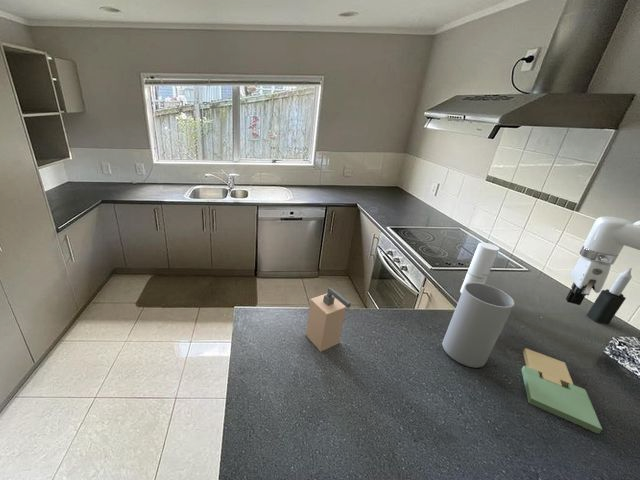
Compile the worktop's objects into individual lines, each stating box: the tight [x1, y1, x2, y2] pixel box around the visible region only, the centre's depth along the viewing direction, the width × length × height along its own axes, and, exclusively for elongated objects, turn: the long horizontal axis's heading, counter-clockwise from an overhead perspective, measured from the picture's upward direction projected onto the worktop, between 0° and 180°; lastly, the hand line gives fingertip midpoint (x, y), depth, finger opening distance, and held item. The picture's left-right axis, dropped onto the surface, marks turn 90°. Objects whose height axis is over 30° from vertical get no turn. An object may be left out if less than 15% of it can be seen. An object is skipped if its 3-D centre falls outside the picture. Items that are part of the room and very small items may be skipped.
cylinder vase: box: [442, 283, 516, 368], centre depth 92 cm, size 12×12×25 cm
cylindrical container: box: [459, 241, 500, 295], centre depth 124 cm, size 7×7×25 cm
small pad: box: [522, 347, 574, 388], centre depth 90 cm, size 10×13×2 cm
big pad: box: [521, 365, 603, 435], centre depth 82 cm, size 14×14×2 cm
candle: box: [586, 267, 633, 325], centre depth 111 cm, size 5×5×25 cm
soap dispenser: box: [305, 287, 352, 353], centre depth 94 cm, size 13×9×22 cm
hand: (572, 302), depth 96 cm, fingers closed
